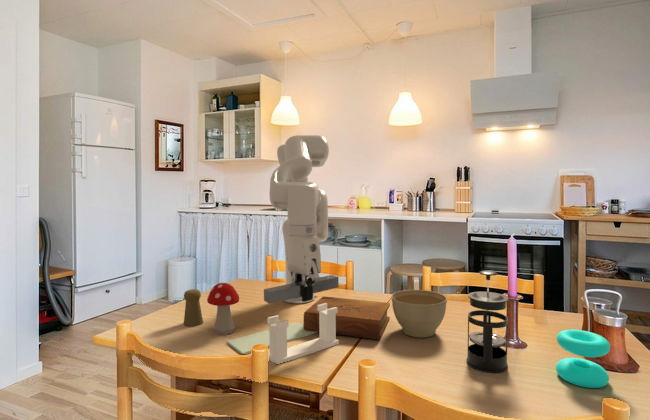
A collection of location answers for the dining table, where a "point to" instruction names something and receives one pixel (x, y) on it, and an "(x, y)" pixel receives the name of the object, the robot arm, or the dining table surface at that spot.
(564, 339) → the donuts
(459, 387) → the dining table surface
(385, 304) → the diary
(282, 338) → the rack
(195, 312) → the cork
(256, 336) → the mat
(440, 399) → the dining table surface
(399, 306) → the planter bowl
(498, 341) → the french press
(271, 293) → the rail
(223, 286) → the decorative mushroom
